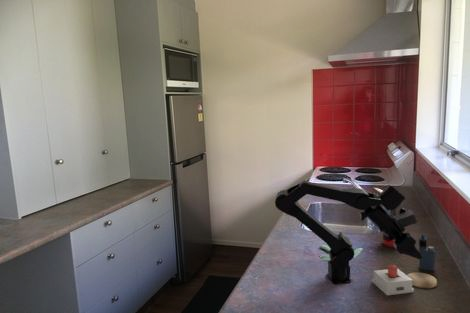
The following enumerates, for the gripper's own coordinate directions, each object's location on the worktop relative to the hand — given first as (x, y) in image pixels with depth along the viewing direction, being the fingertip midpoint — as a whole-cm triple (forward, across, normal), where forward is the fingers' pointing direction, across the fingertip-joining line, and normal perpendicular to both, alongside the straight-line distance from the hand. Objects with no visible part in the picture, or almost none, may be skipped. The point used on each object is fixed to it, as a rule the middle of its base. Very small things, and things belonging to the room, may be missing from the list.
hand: (416, 252), depth 122 cm
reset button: (0, -4, +11) cm, 12 cm away
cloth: (-7, +24, +23) cm, 34 cm away
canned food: (+8, +32, +7) cm, 34 cm away
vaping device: (+12, +10, +2) cm, 16 cm away
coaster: (+8, 0, +6) cm, 10 cm away
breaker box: (+1, -4, +13) cm, 14 cm away
